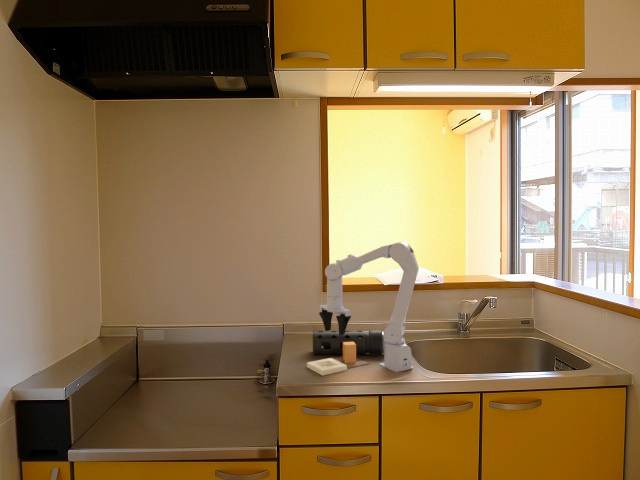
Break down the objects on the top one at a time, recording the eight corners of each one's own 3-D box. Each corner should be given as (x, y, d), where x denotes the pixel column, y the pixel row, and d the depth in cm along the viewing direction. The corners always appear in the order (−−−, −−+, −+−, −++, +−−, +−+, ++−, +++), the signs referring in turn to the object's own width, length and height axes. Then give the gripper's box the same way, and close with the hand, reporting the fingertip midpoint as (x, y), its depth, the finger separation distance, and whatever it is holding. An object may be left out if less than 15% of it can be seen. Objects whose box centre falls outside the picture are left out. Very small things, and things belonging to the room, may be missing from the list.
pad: (369, 365, 162) (369, 363, 162) (348, 369, 158) (348, 367, 158) (349, 356, 173) (349, 354, 173) (330, 360, 168) (330, 358, 168)
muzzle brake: (313, 326, 180) (312, 334, 170) (384, 326, 179) (387, 333, 169) (314, 350, 181) (312, 359, 171) (384, 349, 180) (387, 358, 170)
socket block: (346, 371, 156) (346, 365, 156) (322, 376, 151) (322, 370, 151) (331, 363, 165) (331, 357, 164) (307, 368, 159) (307, 362, 159)
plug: (356, 362, 163) (356, 344, 163) (345, 363, 163) (345, 345, 162) (353, 359, 167) (353, 341, 167) (342, 359, 167) (342, 342, 166)
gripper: (356, 297, 164) (356, 334, 164) (329, 292, 175) (329, 327, 175) (342, 299, 159) (342, 337, 160) (315, 294, 170) (315, 330, 171)
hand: (334, 332), depth 167 cm, fingers open, 7 cm apart
